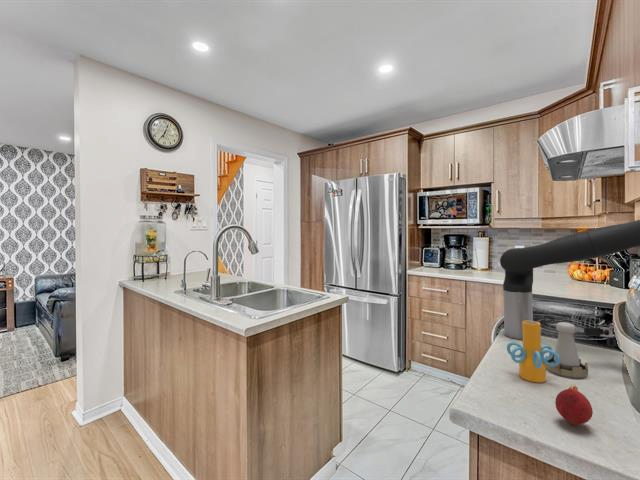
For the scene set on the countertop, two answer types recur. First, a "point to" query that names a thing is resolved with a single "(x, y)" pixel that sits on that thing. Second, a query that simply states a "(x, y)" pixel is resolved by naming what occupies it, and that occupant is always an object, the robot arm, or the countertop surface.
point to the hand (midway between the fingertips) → (595, 336)
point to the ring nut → (574, 373)
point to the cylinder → (532, 353)
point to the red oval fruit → (573, 406)
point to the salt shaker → (566, 346)
